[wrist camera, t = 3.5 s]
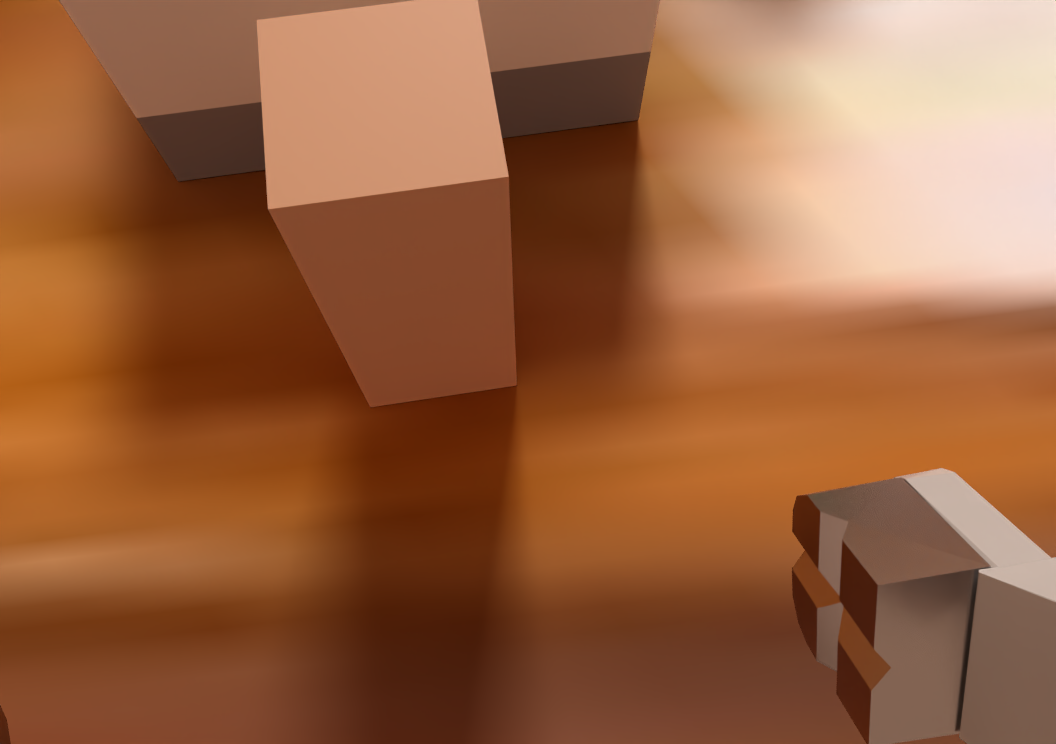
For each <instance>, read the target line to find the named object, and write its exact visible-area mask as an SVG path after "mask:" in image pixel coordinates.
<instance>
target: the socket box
mask: <svg viewBox="0 0 1056 744" xmlns="http://www.w3.org/2000/svg"><path fill="white" fill-rule="evenodd" d="M59 1H60V3H61V4H62V6H63V7H64V9H65V10H66V12H67V13H68V15H69V16H70V18H71V19H72V21H73V22H74V24H75V25H76V27H77V28H78V30H79V31H80V33H81V34H82V36H83V37H84V39H85V41H86V42H87V44H88V45H89V47H90V48H91V50H92V51H93V53H94V54H95V56H96V57H97V59H98V60H99V62H100V63H101V65H102V66H103V68H104V69H105V71H106V72H107V74H108V75H109V77H110V79H111V80H112V82H113V83H114V85H115V86H116V88H117V89H118V91H119V92H120V94H121V95H122V97H123V98H124V100H125V101H126V103H127V104H128V106H129V107H130V109H131V110H132V112H133V113H134V115H135V117H136V118H137V120H138V121H139V123H140V124H141V126H142V127H143V129H144V130H145V132H146V133H147V135H148V136H149V138H150V139H151V141H152V142H153V144H154V145H155V147H156V148H157V150H158V152H159V153H160V155H161V156H162V158H163V159H164V161H165V162H166V164H167V165H168V167H169V168H170V170H171V171H172V173H173V174H174V176H175V177H176V179H177V180H178V181H185V180H193V179H200V178H208V177H215V176H223V175H230V174H238V173H245V172H253V171H260V170H266V168H265V152H264V135H263V118H262V102H261V85H260V68H259V52H258V35H257V20H260V19H268V18H276V17H284V16H292V15H300V14H308V13H316V12H324V11H333V10H341V9H349V8H357V7H365V6H373V5H381V4H389V3H397V2H405V1H413V0H59ZM659 3H660V0H478V5H479V11H480V17H481V22H482V28H483V34H484V39H485V45H486V51H487V56H488V62H489V68H490V73H491V79H492V85H493V90H494V96H495V102H496V107H497V113H498V119H499V124H500V130H501V136H502V138H507V137H514V136H522V135H529V134H537V133H544V132H552V131H559V130H567V129H574V128H582V127H589V126H597V125H604V124H612V123H619V122H627V121H634V120H638V119H639V113H640V108H641V102H642V97H643V91H644V86H645V80H646V74H647V69H648V63H649V58H650V52H651V47H652V41H653V36H654V30H655V25H656V19H657V14H658V8H659Z"/></svg>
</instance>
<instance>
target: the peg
mask: <svg viewBox="0 0 1056 744" xmlns="http://www.w3.org/2000/svg"><path fill="white" fill-rule="evenodd" d="M257 35H258V52H259V68H260V85H261V102H262V118H263V135H264V152H265V168H266V185H267V202H268V210H269V212H270V214H271V216H272V218H273V220H274V222H275V224H276V226H277V228H278V230H279V232H280V234H281V236H282V238H283V239H284V241H285V243H286V245H287V247H288V249H289V251H290V253H291V255H292V257H293V259H294V261H295V263H296V265H297V267H298V268H299V270H300V272H301V274H302V276H303V278H304V280H305V282H306V284H307V286H308V288H309V290H310V292H311V294H312V296H313V298H314V299H315V301H316V303H317V305H318V307H319V309H320V311H321V313H322V315H323V317H324V319H325V321H326V323H327V325H328V327H329V328H330V330H331V332H332V334H333V336H334V338H335V340H336V342H337V344H338V346H339V348H340V350H341V352H342V354H343V356H344V357H345V359H346V361H347V363H348V365H349V367H350V369H351V371H352V373H353V375H354V377H355V379H356V381H357V383H358V385H359V387H360V388H361V390H362V392H363V394H364V396H365V398H366V400H367V402H368V404H369V406H370V407H376V406H383V405H390V404H396V403H403V402H410V401H416V400H423V399H430V398H436V397H443V396H450V395H457V394H463V393H470V392H477V391H483V390H490V389H497V388H504V387H510V386H517V374H516V348H515V323H514V297H513V272H512V247H511V221H510V196H509V175H508V170H507V164H506V158H505V153H504V147H503V141H502V136H501V130H500V124H499V119H498V113H497V107H496V102H495V96H494V90H493V85H492V79H491V73H490V68H489V62H488V56H487V51H486V45H485V39H484V34H483V28H482V22H481V17H480V11H479V5H478V0H413V1H405V2H397V3H389V4H381V5H373V6H365V7H357V8H349V9H341V10H333V11H324V12H316V13H308V14H300V15H292V16H284V17H276V18H268V19H260V20H257Z"/></svg>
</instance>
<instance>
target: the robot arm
mask: <svg viewBox="0 0 1056 744" xmlns="http://www.w3.org/2000/svg"><path fill="white" fill-rule="evenodd" d="M792 532H793V533H794V535H795V536H796V538H797V539H798V541H799V542H800V544H801V545H802V546H803V548H804V549H805V551H804V552H803V554H802V555H801V556H800V558H799V559H798V560H797V562H796V563H795V565H794V566H793V567H792V591H793V600H794V605H795V610H796V614H797V619H798V623H799V626H800V628H801V631H802V633H803V636H804V638H805V641H806V643H807V645H808V646H809V648H810V650H811V652H812V653H813V655H814V657H815V659H816V660H817V661H818V662H820V663H822V664H824V665H826V666H828V667H829V668H831V669H833V670H835V671H837V686H836V694H837V696H838V697H839V699H840V701H841V702H842V704H843V706H844V707H845V709H846V711H847V712H848V714H849V716H850V717H851V719H852V720H853V722H854V724H855V725H856V727H857V729H858V730H859V732H860V734H861V735H862V737H863V739H864V740H865V742H866V744H892V743H899V742H906V741H912V740H919V739H926V738H932V737H939V736H946V735H952V734H959V733H960V735H959V738H960V739H961V740H963V741H964V742H966V743H967V744H1056V557H1055V558H1051V557H1049V556H1048V555H1047V554H1046V553H1045V552H1044V551H1043V550H1042V549H1040V548H1039V547H1038V546H1037V545H1036V544H1035V543H1034V542H1033V541H1031V540H1030V539H1029V538H1028V537H1027V536H1026V535H1025V534H1024V533H1022V532H1021V531H1020V530H1019V529H1018V528H1017V527H1016V526H1015V525H1013V524H1012V523H1011V522H1010V521H1009V520H1008V519H1007V518H1005V517H1004V516H1003V515H1002V514H1001V513H1000V512H999V511H998V510H996V509H995V508H994V507H993V506H992V505H991V504H990V503H989V502H987V501H986V500H985V499H984V498H983V497H982V496H981V495H980V494H978V493H977V492H976V491H975V490H974V489H973V488H972V487H971V486H969V485H968V484H967V483H966V482H965V481H964V480H963V479H962V478H960V477H959V476H958V475H957V474H956V473H955V472H952V471H949V470H946V469H943V468H940V469H935V470H930V471H925V472H920V473H915V474H910V475H905V476H900V477H894V478H893V479H889V480H883V481H878V482H872V483H866V484H861V485H855V486H849V487H844V488H838V489H833V490H827V491H821V492H816V493H810V494H805V495H799V496H797V497H796V500H795V504H794V508H793V524H792ZM0 744H11V743H10V736H9V730H8V724H7V719H6V717H5V715H4V712H3V710H2V708H1V706H0Z"/></svg>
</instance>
